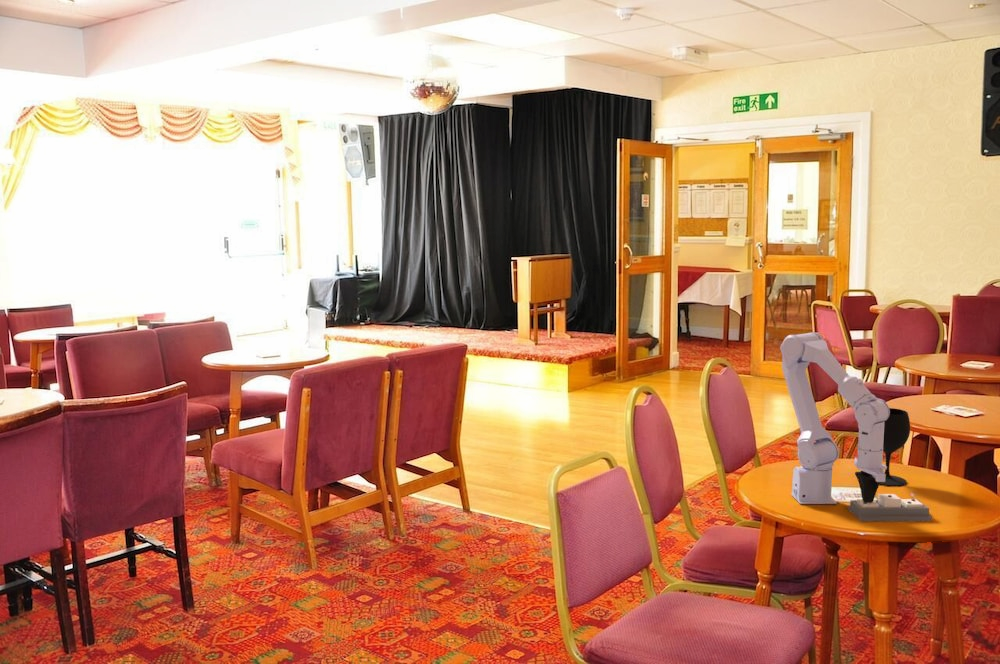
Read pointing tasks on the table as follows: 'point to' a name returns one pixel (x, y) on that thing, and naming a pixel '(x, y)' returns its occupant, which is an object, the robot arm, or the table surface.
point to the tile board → (889, 513)
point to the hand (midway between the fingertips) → (867, 501)
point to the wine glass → (895, 441)
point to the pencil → (918, 500)
